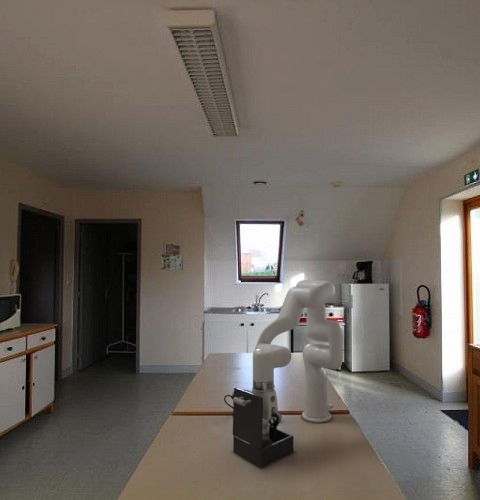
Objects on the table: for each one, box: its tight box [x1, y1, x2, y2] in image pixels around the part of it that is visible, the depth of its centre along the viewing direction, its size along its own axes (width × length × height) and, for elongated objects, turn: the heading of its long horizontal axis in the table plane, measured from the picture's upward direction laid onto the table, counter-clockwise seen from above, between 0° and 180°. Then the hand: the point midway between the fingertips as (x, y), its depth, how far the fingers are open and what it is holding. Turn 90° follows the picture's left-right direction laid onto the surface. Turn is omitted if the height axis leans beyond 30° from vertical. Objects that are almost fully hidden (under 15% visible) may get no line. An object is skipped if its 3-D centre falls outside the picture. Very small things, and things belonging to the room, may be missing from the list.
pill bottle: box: [262, 420, 271, 448], centre depth 135 cm, size 5×5×10 cm
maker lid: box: [232, 386, 263, 449], centre depth 129 cm, size 16×15×5 cm
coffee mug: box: [223, 388, 252, 409], centre depth 169 cm, size 12×9×10 cm
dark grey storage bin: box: [232, 424, 295, 469], centre depth 135 cm, size 16×15×6 cm
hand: (263, 433), depth 135 cm, fingers open, 9 cm apart
